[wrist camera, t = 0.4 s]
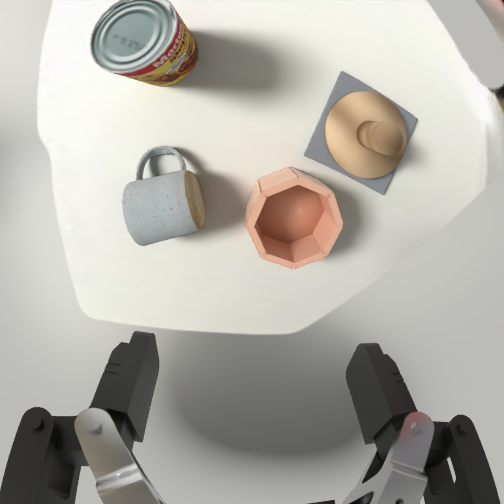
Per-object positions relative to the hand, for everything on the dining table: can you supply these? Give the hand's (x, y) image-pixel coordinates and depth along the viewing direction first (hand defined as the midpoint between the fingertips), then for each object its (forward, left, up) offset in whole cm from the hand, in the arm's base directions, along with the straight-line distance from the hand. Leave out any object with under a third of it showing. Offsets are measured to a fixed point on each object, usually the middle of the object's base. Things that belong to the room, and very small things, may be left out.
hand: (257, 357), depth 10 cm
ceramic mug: (+4, -9, -27) cm, 29 cm away
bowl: (+1, +6, -27) cm, 27 cm away
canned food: (-12, -15, -27) cm, 33 cm away
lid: (-12, +11, -26) cm, 31 cm away
